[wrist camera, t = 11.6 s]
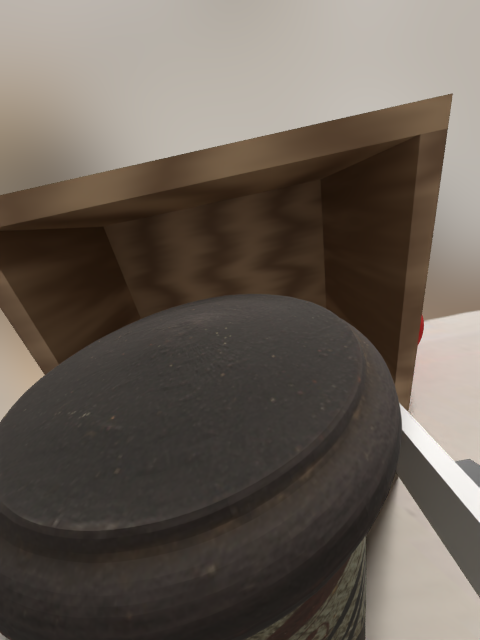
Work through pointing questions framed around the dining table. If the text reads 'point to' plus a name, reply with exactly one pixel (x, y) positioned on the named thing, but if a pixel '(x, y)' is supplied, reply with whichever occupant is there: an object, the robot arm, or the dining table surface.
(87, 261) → the cubby
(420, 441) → the robot arm
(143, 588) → the container
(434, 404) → the dining table surface
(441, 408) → the dining table surface
